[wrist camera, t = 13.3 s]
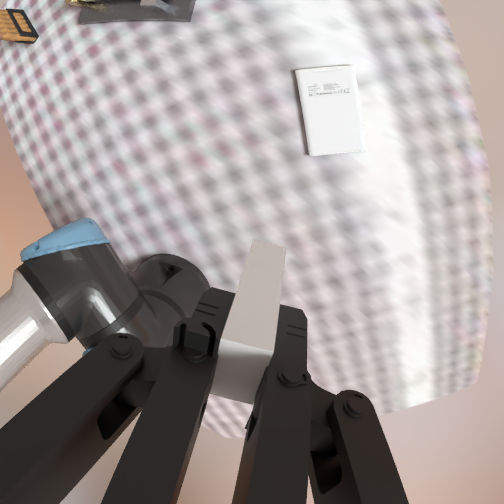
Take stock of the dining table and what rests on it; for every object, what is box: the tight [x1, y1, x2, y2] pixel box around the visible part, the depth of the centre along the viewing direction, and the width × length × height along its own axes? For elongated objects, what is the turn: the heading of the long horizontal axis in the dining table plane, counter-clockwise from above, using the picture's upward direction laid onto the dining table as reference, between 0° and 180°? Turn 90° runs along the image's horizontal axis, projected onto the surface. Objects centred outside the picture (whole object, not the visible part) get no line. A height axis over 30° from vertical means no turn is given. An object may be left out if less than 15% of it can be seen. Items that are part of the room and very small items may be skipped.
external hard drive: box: [295, 65, 366, 156], centre depth 39 cm, size 2×8×12 cm
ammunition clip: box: [0, 9, 39, 43], centre depth 31 cm, size 11×2×12 cm, turn 35°
